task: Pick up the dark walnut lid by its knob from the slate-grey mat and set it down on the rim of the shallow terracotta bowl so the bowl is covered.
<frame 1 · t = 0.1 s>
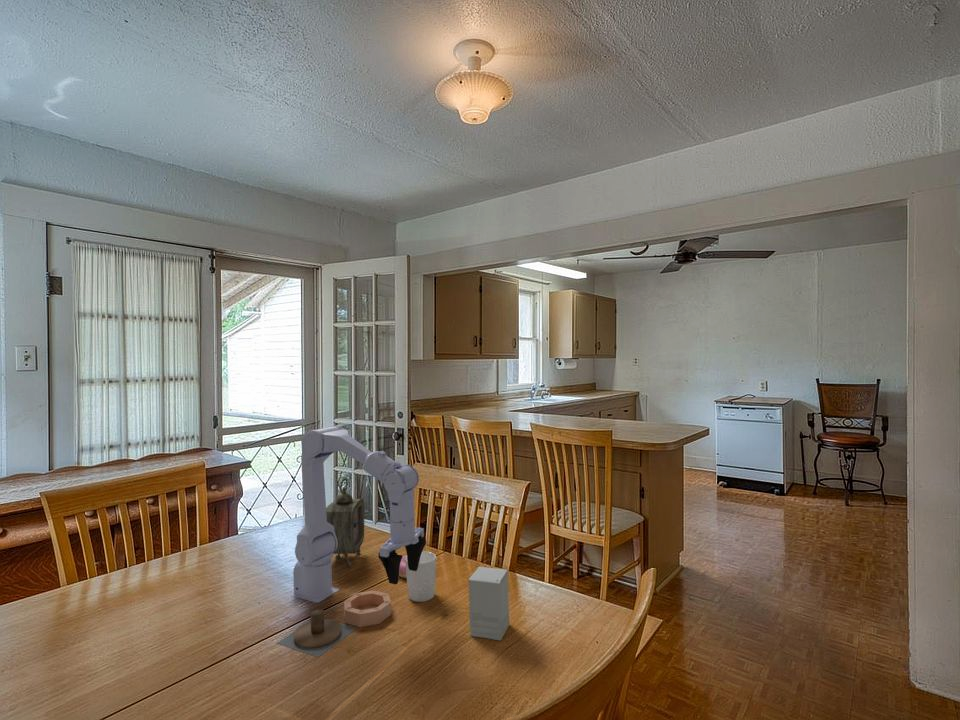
hand: (403, 576, 118), 10 cm above the table, tool pointing down, fingers open, 7 cm apart
supplement box: (490, 630, 113), on the table
lid: (317, 635, 111), point 1 cm above the table, touching mat
white cup: (421, 596, 129), on the table
bowl: (367, 616, 119), on the table
mat: (317, 638, 111), on the table
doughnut: (413, 573, 144), on the table
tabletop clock: (344, 561, 153), on the table
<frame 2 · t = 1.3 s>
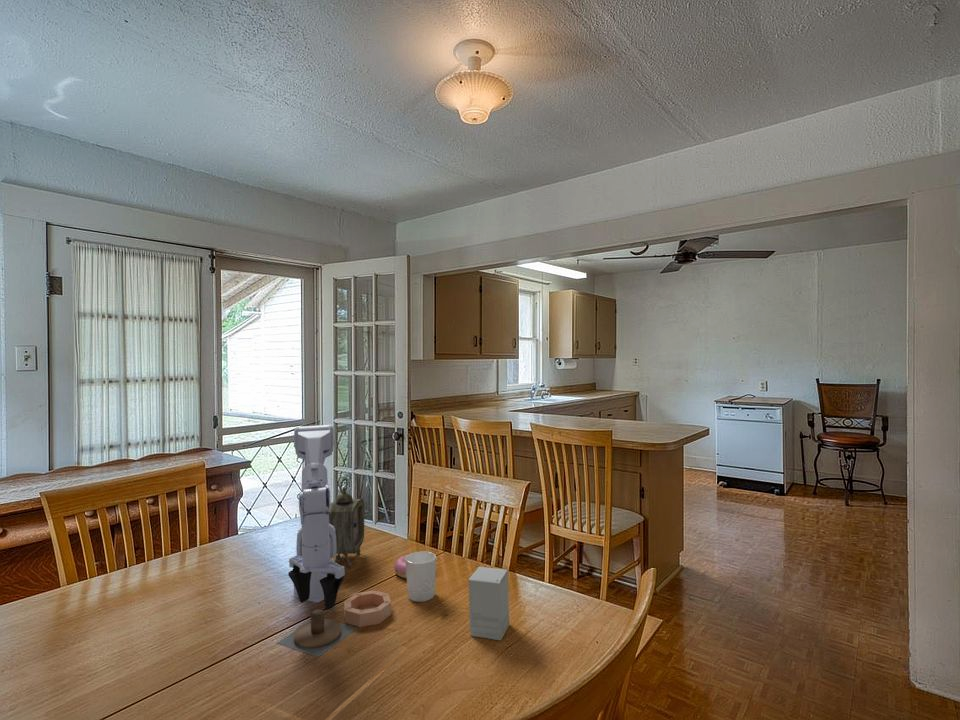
hand: (317, 604, 110), 8 cm above the table, tool pointing down, fingers open, 7 cm apart
nothing on the table moved.
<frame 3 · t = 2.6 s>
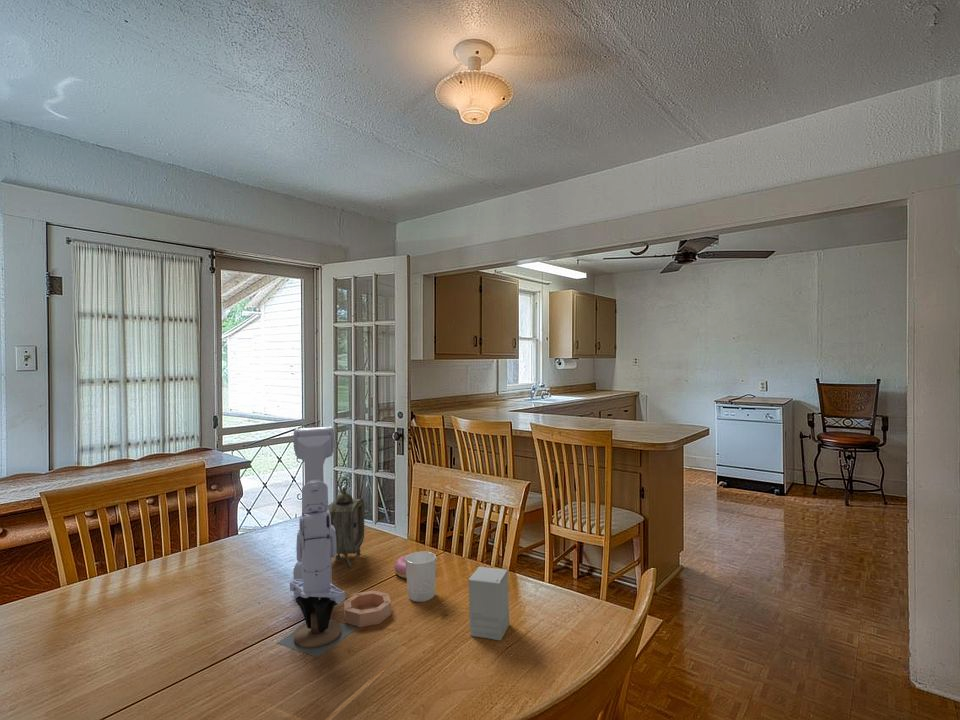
hand: (317, 628, 111), 2 cm above the table, tool pointing down, fingers closed on lid, 3 cm apart
lid: (317, 635, 111), point 1 cm above the table, touching gripper, mat
everything else where it was.
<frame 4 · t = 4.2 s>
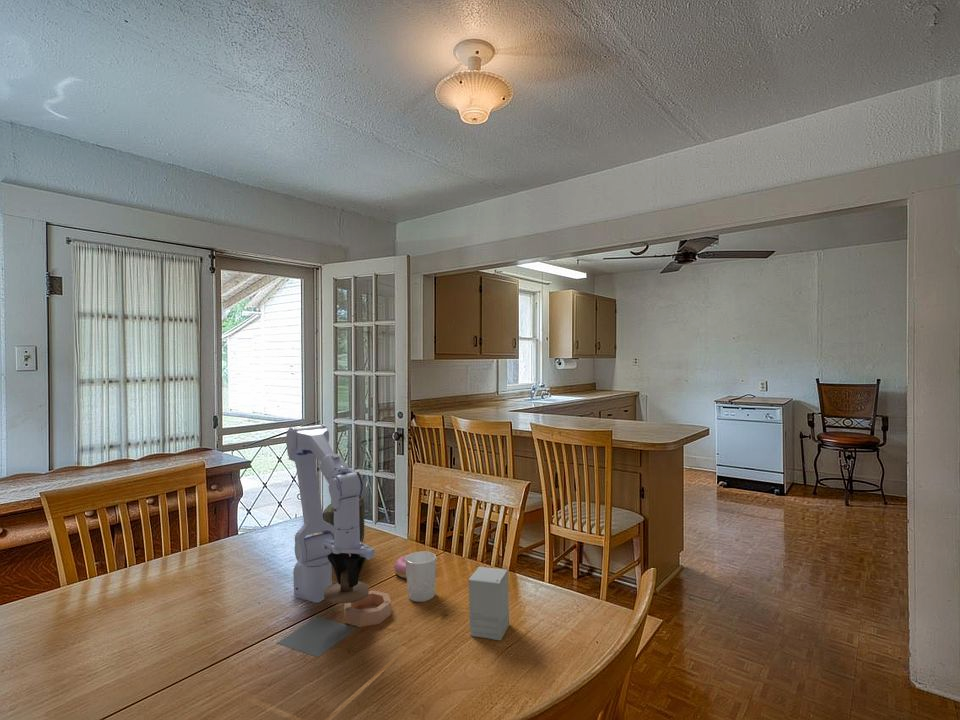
hand: (348, 584, 116), 9 cm above the table, tool pointing down, fingers closed on lid, 3 cm apart
lid: (346, 594, 115), point 7 cm above the table, touching gripper
everything else where it was.
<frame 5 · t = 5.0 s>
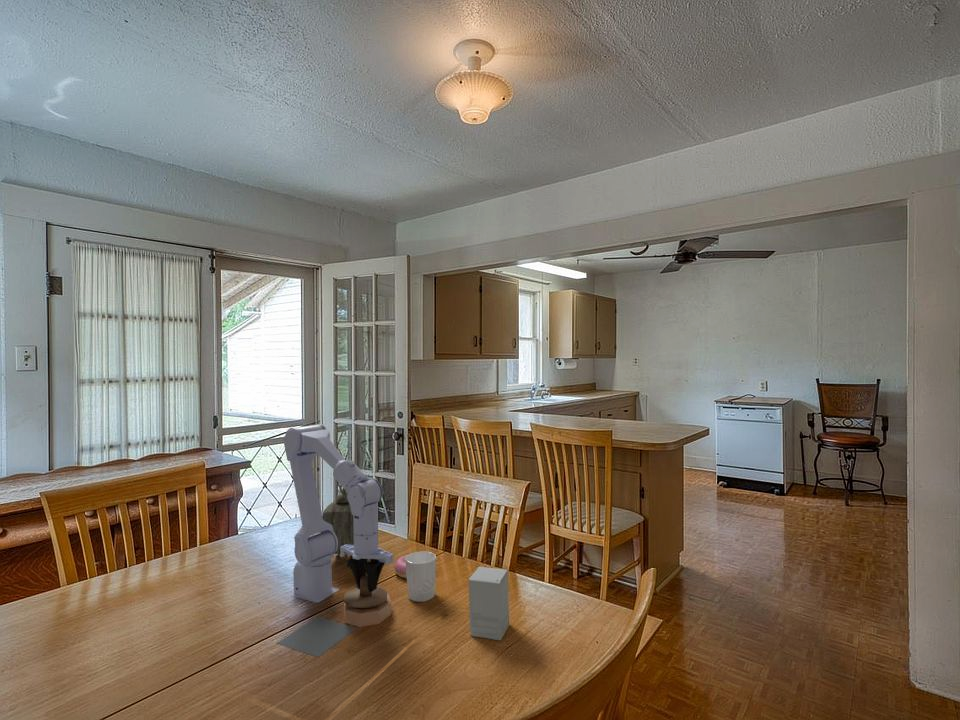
hand: (367, 588, 119), 7 cm above the table, tool pointing down, fingers closed on lid, 3 cm apart
lid: (365, 598, 119), point 4 cm above the table, tilted 5°, touching gripper
everything else where it was.
when the fingers open (6 cm above the table, at t = 5.7 s): lid stays where it is, resting on bowl.
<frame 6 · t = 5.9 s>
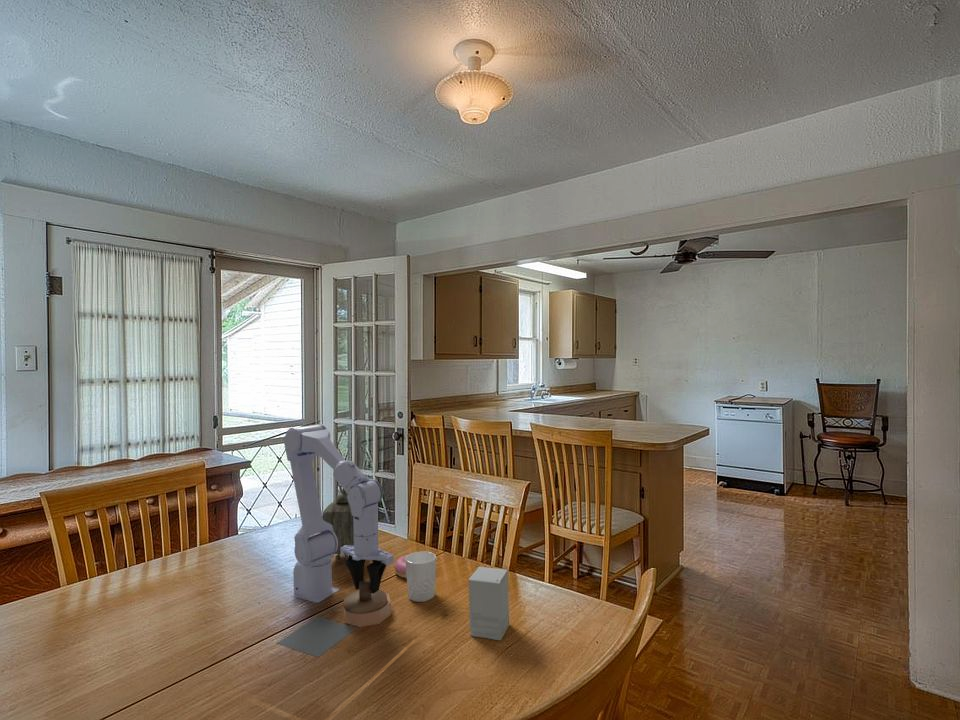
hand: (367, 589, 119), 6 cm above the table, tool pointing down, fingers open, 4 cm apart
lid: (365, 602, 119), point 3 cm above the table, touching bowl
everything else where it was.
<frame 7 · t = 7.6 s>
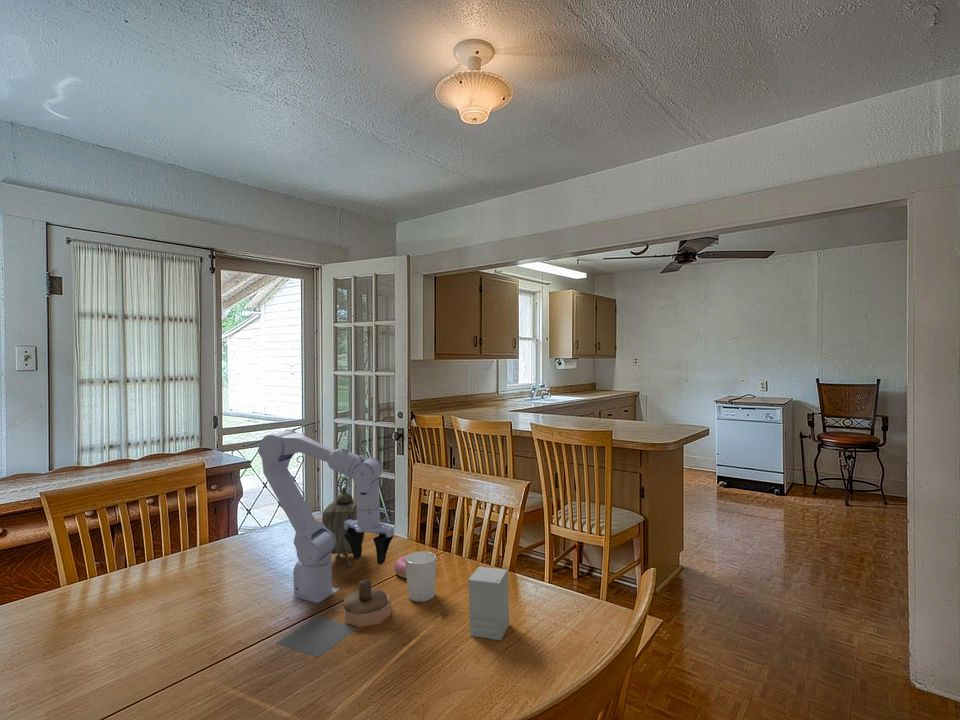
hand: (369, 560, 128), 10 cm above the table, tool pointing down, fingers open, 7 cm apart
nothing on the table moved.
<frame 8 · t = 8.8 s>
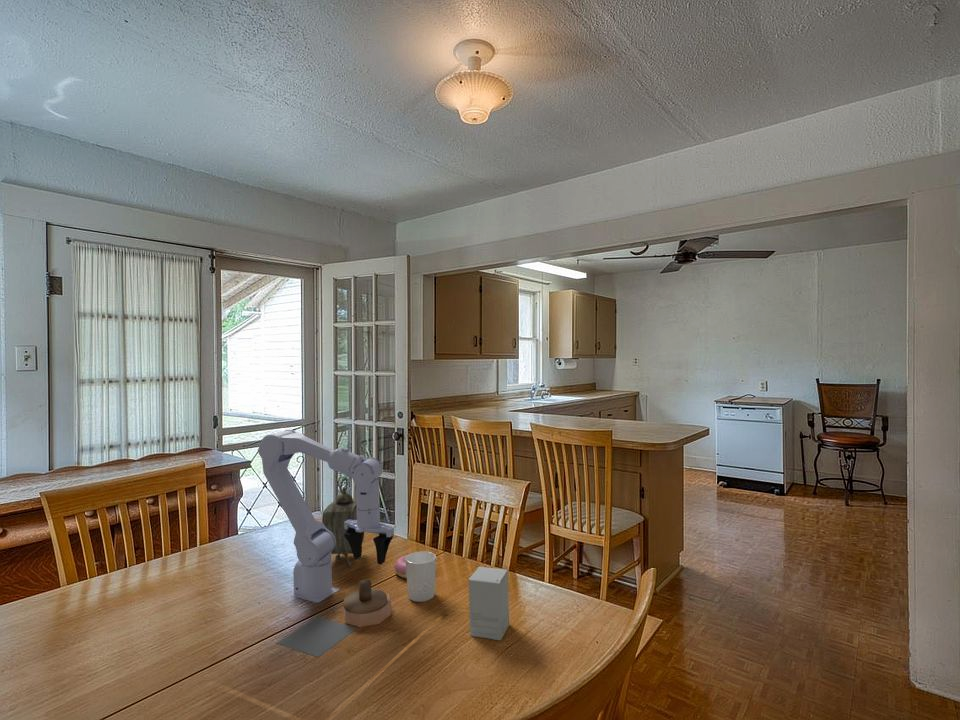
hand: (369, 560, 128), 10 cm above the table, tool pointing down, fingers open, 7 cm apart
nothing on the table moved.
at the end: lid 0.7 cm off-centre on the bowl, point 3.5 cm above the bowl's base; lid tilted 0°; the gripper is holding nothing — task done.
